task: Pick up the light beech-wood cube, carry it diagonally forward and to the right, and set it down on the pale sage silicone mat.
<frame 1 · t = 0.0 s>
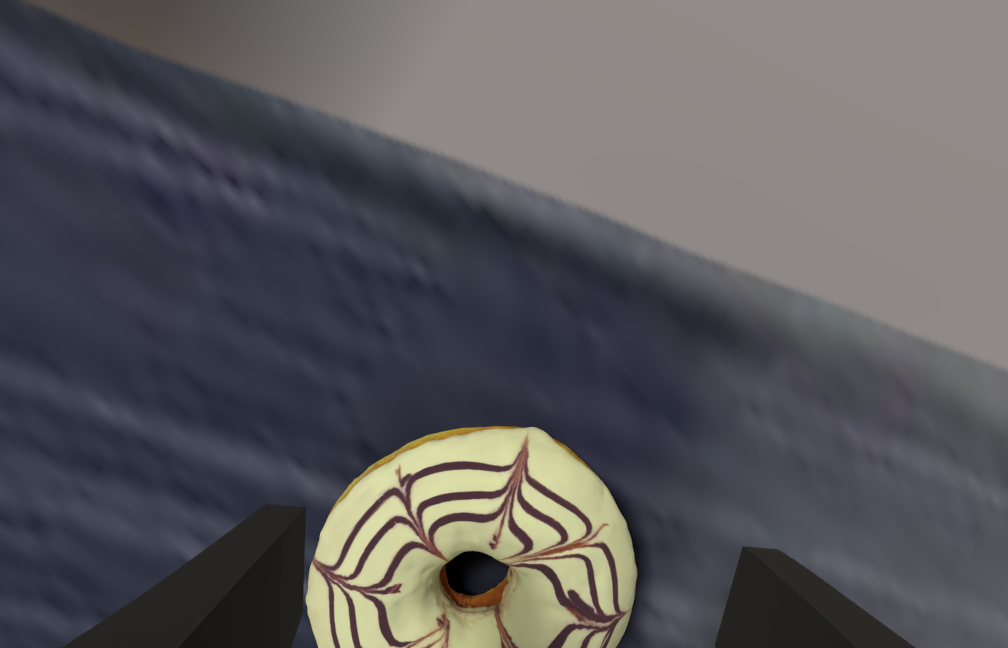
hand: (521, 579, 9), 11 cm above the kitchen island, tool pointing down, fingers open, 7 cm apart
decorated donut: (477, 545, 20), on the kitchen island
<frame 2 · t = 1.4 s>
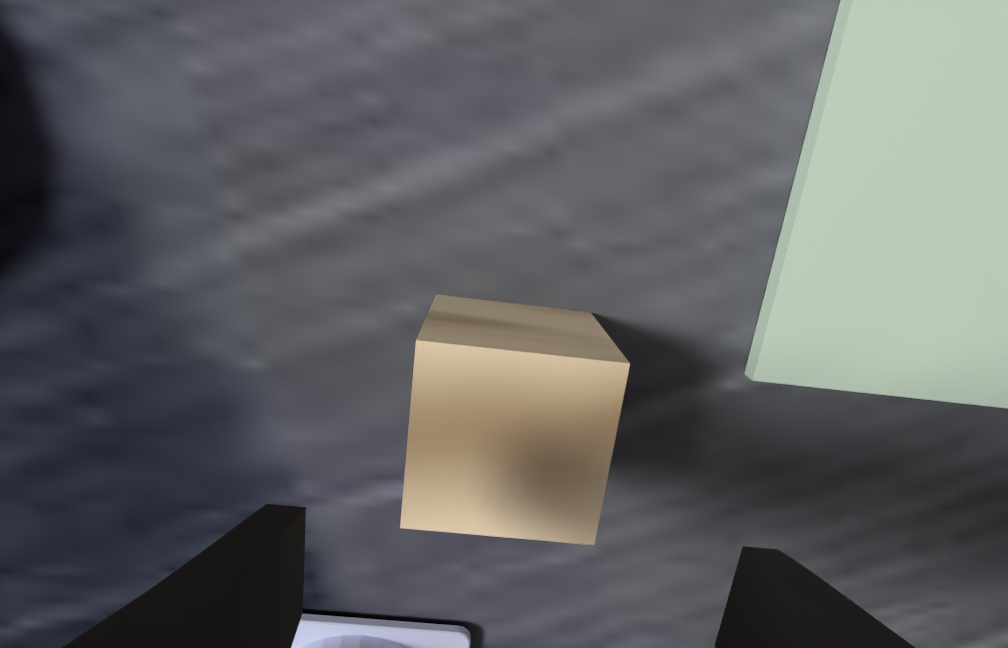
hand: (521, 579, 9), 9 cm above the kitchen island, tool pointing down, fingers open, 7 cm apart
cube: (504, 375, 18), on the kitchen island
mat: (974, 215, 17), on the kitchen island
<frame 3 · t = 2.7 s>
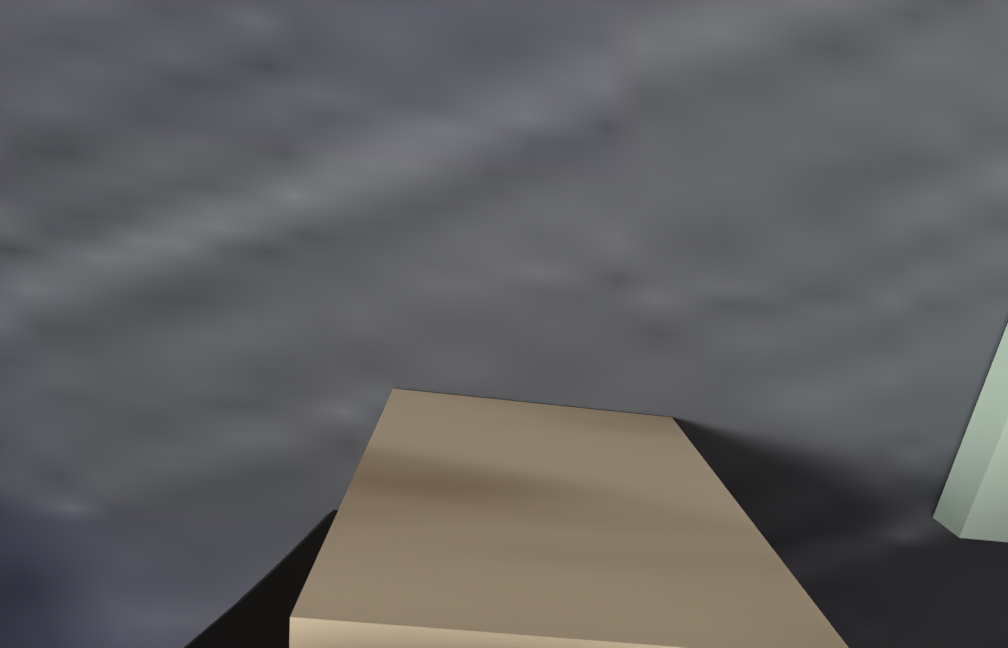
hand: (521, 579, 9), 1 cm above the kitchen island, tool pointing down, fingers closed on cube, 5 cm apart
cube: (516, 524, 10), on the kitchen island, touching gripper
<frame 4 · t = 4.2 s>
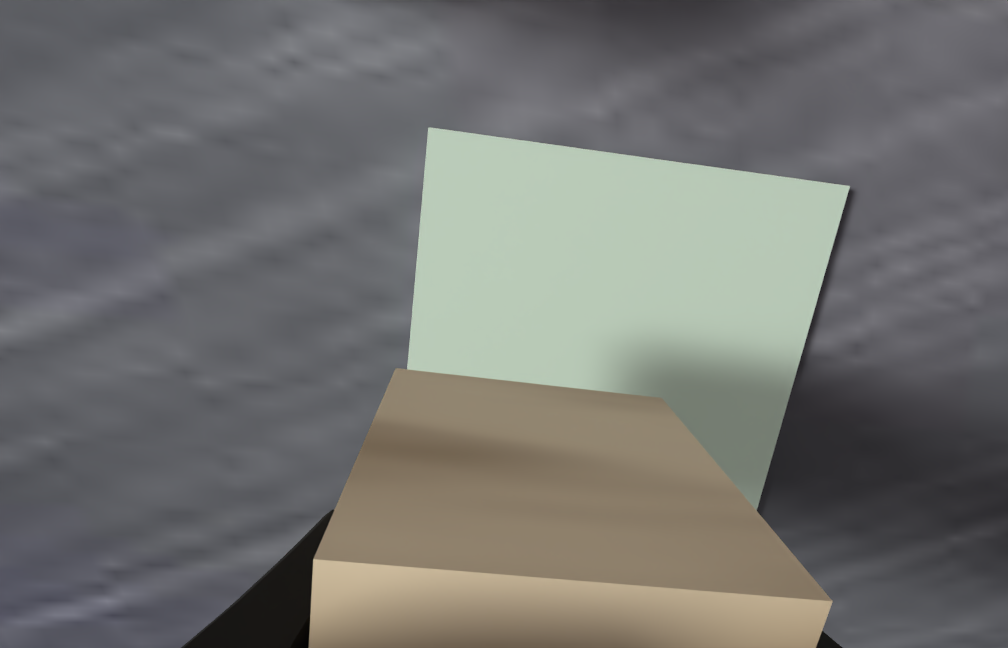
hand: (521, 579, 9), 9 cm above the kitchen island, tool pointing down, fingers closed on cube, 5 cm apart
cube: (512, 500, 10), point 7 cm above the kitchen island, touching gripper
mat: (602, 354, 17), on the kitchen island
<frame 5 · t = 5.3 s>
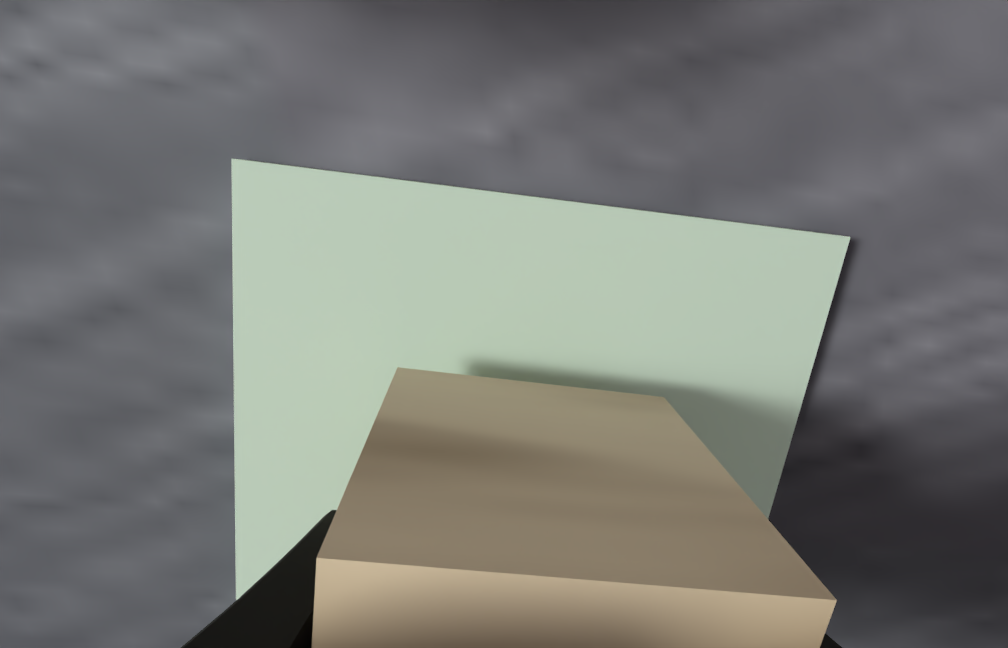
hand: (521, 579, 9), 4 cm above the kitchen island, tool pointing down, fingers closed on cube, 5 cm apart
cube: (514, 500, 10), point 2 cm above the kitchen island, touching gripper
mat: (511, 462, 12), on the kitchen island
when the fingers open (3 cm above the kitchen island, at t = 5.9 s): cube stays where it is, resting on mat.
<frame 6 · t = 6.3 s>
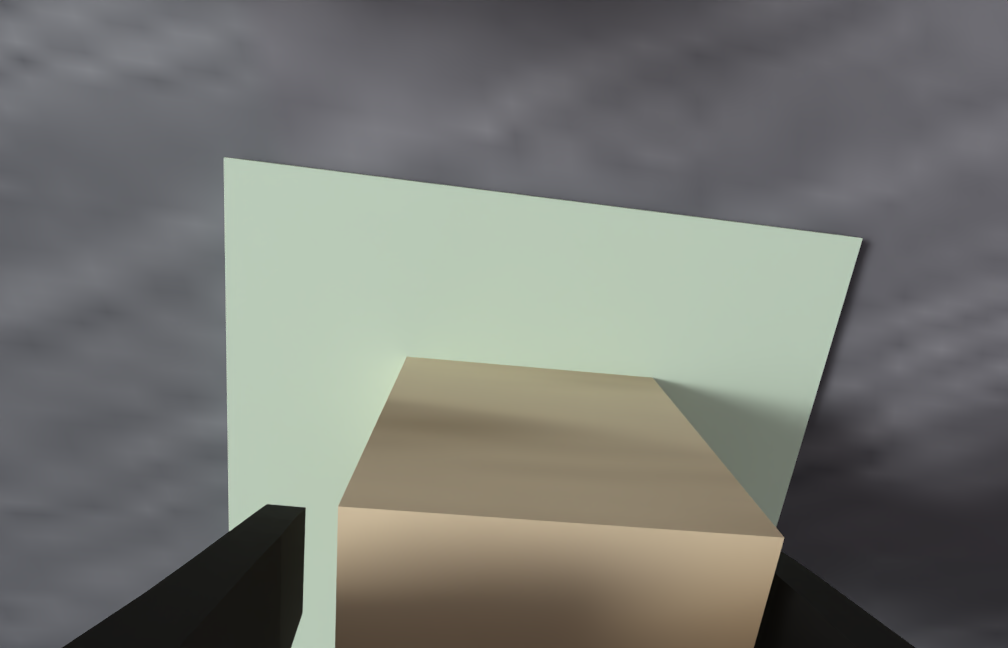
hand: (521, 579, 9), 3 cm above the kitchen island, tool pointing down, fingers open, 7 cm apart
cube: (517, 476, 11), point 1 cm above the kitchen island, touching mat
mat: (512, 469, 12), on the kitchen island
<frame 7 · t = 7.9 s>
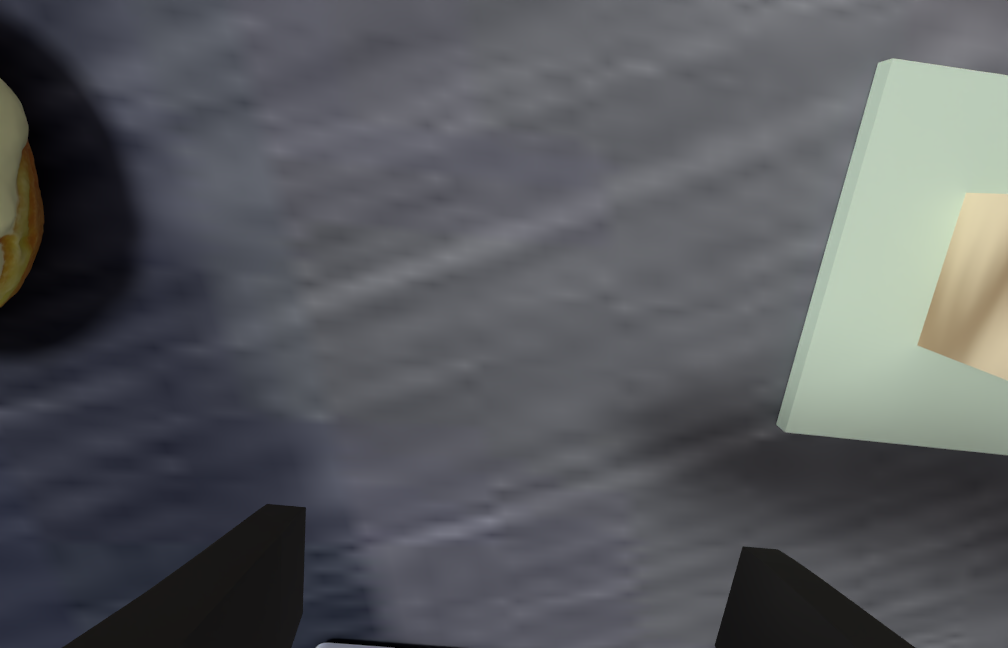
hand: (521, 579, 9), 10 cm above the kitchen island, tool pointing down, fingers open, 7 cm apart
mat: (992, 280, 18), on the kitchen island
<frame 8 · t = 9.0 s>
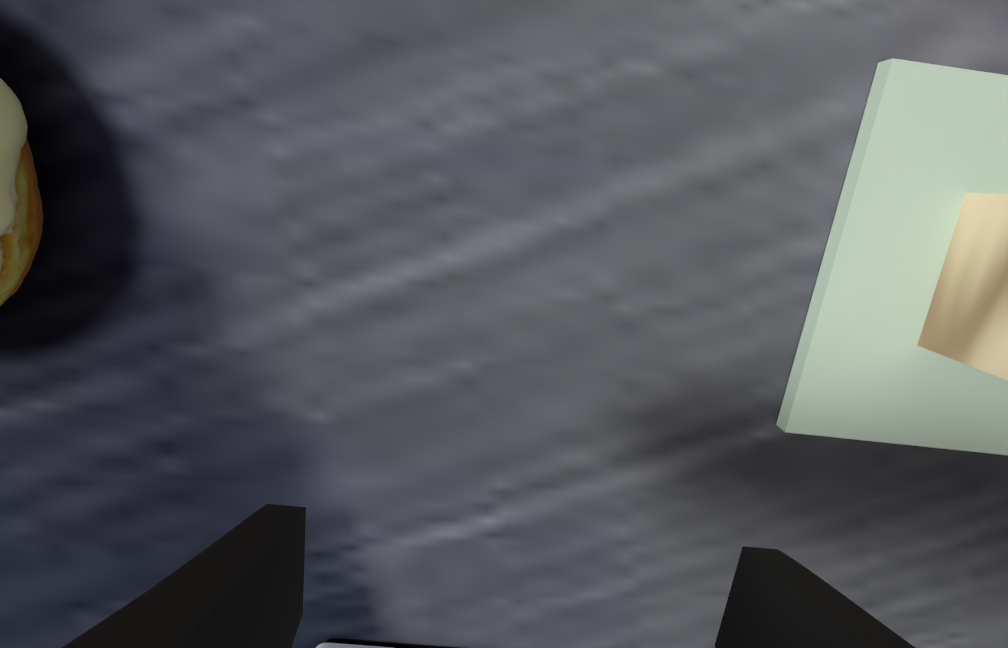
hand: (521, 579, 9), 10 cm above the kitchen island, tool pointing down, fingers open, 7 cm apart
mat: (992, 280, 18), on the kitchen island
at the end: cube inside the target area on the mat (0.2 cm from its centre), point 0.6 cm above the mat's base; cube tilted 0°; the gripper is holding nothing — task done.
